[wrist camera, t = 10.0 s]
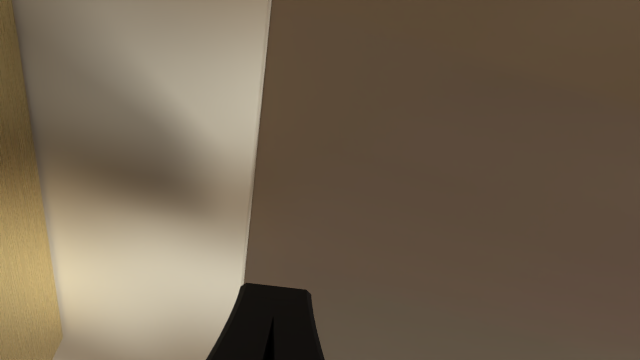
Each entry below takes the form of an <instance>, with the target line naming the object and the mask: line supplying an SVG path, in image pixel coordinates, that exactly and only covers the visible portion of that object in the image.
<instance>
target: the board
mask: <svg viewBox="0 0 640 360" xmlns="http://www.w3.org/2000/svg"><path fill="white" fill-rule="evenodd" d="M12 4H13V11H14V17H15V24H16V30H17V37H18V44H19V50H20V57H21V63H22V70H23V76H24V83H25V90H26V96H27V103H28V109H29V116H30V122H31V129H32V136H33V142H34V149H35V155H36V162H37V169H38V175H39V182H40V188H41V195H42V201H43V208H44V215H45V221H46V228H47V234H48V241H49V247H50V254H51V261H52V267H53V274H54V280H55V287H56V294H57V300H58V307H59V313H60V320H61V326H62V333H63V339H62V341H61V343H60V345H59V347H58V349H57V351H56V353H55V355H54V357H53V359H52V360H206V359H207V357H208V355H209V353H210V352H211V350H212V348H213V346H214V345H215V343H216V341H217V339H218V338H219V336H220V334H221V332H222V330H223V328H224V326H225V324H226V322H227V320H228V318H229V316H230V313H231V311H232V309H233V307H234V304H235V302H236V299H237V296H238V293H239V290H240V286H242V285H243V284H244V274H245V264H246V254H247V244H248V234H249V223H250V213H251V203H252V193H253V183H254V173H255V163H256V152H257V142H258V132H259V122H260V112H261V102H262V91H263V81H264V71H265V61H266V51H267V41H268V30H269V20H270V10H271V0H12Z"/></svg>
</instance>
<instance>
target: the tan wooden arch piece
mask: <svg viewBox="0 0 640 360" xmlns="http://www.w3.org/2000/svg"><path fill="white" fill-rule="evenodd" d="M62 339H63V333H62V326H61V320H60V313H59V307H58V300H57V294H56V287H55V280H54V274H53V267H52V261H51V254H50V247H49V241H48V234H47V228H46V221H45V215H44V208H43V201H42V195H41V188H40V182H39V175H38V169H37V162H36V155H35V149H34V142H33V136H32V129H31V122H30V116H29V109H28V103H27V96H26V90H25V83H24V76H23V70H22V63H21V57H20V50H19V44H18V37H17V30H16V24H15V17H14V11H13V4H12V0H0V360H52V359H53V357H54V355H55V353H56V351H57V349H58V347H59V345H60V343H61V341H62Z"/></svg>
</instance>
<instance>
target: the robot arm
mask: <svg viewBox="0 0 640 360" xmlns="http://www.w3.org/2000/svg"><path fill="white" fill-rule="evenodd" d="M206 360H325V359H324V356H323V352H322V349H321V345H320V341H319V337H318V333H317V329H316V325H315V320H314V314H313V308H312V300H311V294H310V293H309V292H308V291H307V290H303V289H295V288H286V287H278V286H269V285H260V284H252V283H246V284H244V285H242V286H240V290H239V293H238V296H237V299H236V302H235V304H234V307H233V309H232V311H231V313H230V316H229V318H228V320H227V322H226V324H225V326H224V328H223V330H222V332H221V334H220V336H219V338H218V339H217V341H216V343H215V345H214V346H213V348H212V350H211V352H210V353H209V355H208V357H207V359H206Z"/></svg>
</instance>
